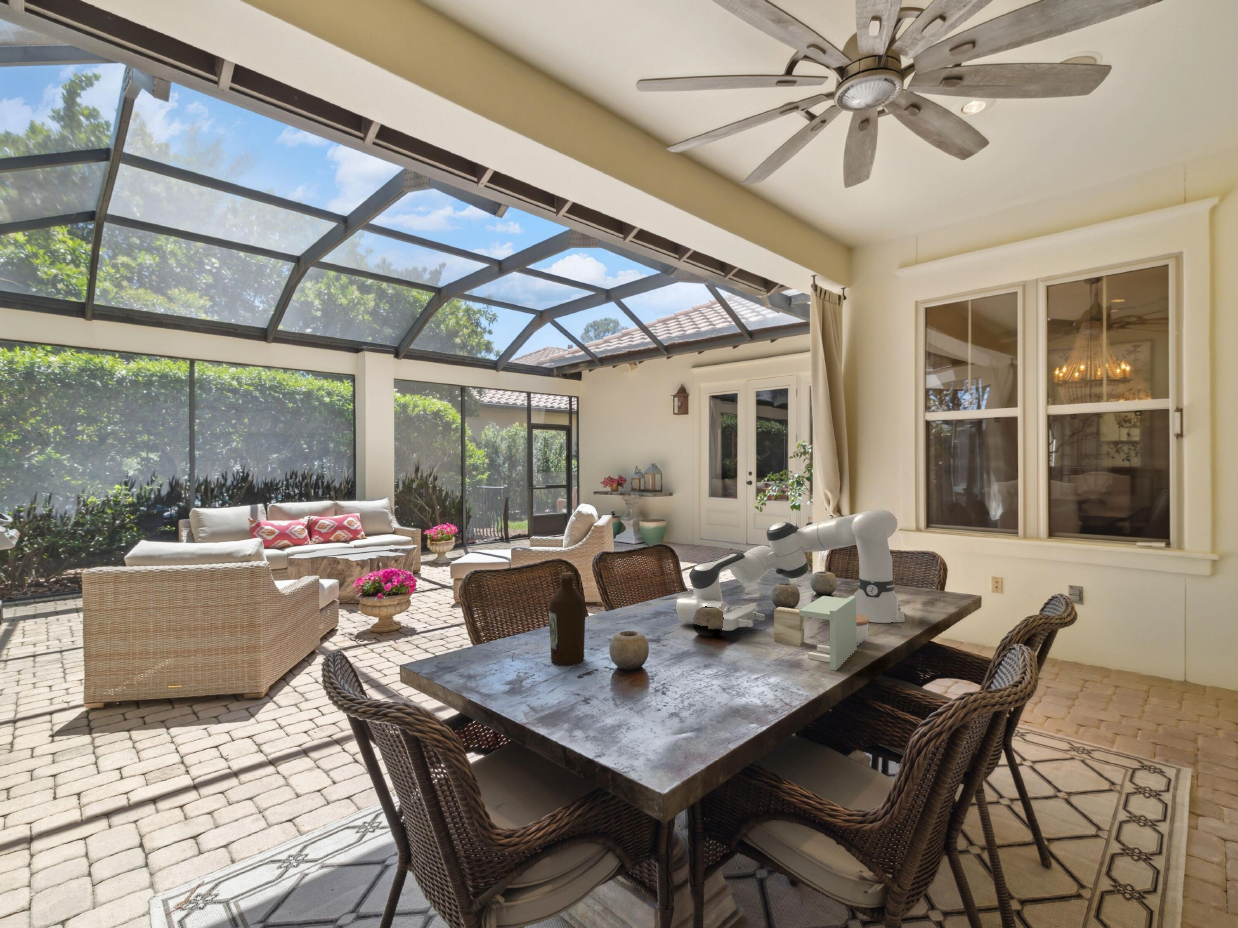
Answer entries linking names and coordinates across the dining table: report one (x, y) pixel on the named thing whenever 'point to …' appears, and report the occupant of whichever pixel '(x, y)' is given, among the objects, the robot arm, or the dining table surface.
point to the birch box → (788, 626)
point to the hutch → (835, 628)
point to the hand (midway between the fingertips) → (758, 620)
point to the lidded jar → (861, 628)
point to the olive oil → (567, 624)
